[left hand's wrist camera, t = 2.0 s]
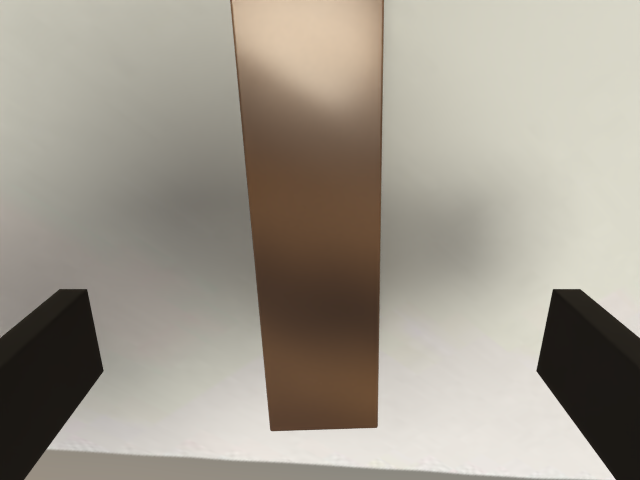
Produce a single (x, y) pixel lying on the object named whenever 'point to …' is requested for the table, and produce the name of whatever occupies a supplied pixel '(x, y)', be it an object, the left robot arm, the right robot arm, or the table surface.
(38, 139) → the table surface
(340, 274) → the post
